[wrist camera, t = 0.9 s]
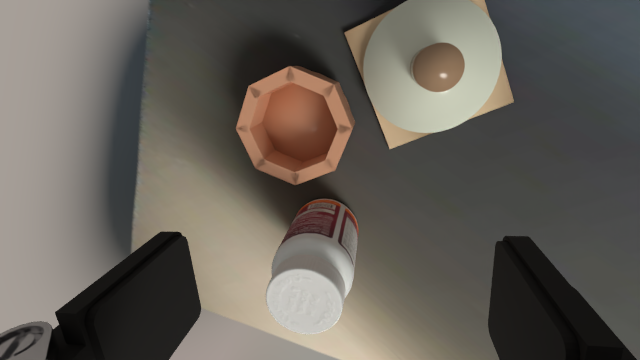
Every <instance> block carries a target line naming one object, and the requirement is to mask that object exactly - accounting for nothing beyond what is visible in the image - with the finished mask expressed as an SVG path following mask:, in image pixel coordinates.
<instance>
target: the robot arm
mask: <svg viewBox="0 0 640 360" xmlns="http://www.w3.org/2000/svg"><path fill="white" fill-rule="evenodd" d="M200 312H201V304H200V300H199V295H198V290H197V285H196V280H195V275H194V270H193V266H192V261H191V256H190V251H189V246H188V241H187V239H186V237H184V236H182V234H181V233H180V232H160V233H158V234H157V235H156V236H154V237H153V238H152V239H150V240H149V241H148V242H146V243H145V244H144V245H143V246H141V247H140V248H139V249H137V250H136V251H135V252H133V253H132V254H131V255H129V256H128V257H127V258H126V259H124V260H123V261H122V262H120V263H119V264H118V265H116V266H115V267H114V268H112V269H111V270H110V271H109V272H107V273H106V274H105V275H103V276H102V277H101V278H100V279H98V280H97V281H95V282H94V283H93V284H92V285H90V286H89V287H88V288H86V289H85V290H84V291H82V292H81V293H80V294H78V295H77V296H76V297H75V298H73V299H72V300H71V301H69V302H68V303H67V304H65V305H64V306H63V307H62V308H60V309H59V310H58V311H56V312H55V314H56V317H57V320H58V322H59V325H58V326H57V327H56V328H55V329H52V326H51V325H50V324H49V323H47V322H42V321H40V322H31V323H27V324H23V325H19V326H17V327H14V328H11V329H9V330H7V331H5V332H3V333H1V334H0V360H169V359H170V357H171V356H172V354H173V353H174V351H175V350H176V349H177V347H178V346H179V344H180V343H181V341H182V340H183V339H184V337H185V336H186V335H187V333H188V332H189V331H190V329H191V328H192V326H193V325H194V323H195V322H196V321H197V319H198V318H199V315H200ZM488 328H489V333H490V337H491V339H492V342H493V344H494V347H495V349H496V352H497V354H498V357H499V359H500V360H637V359H636V358H635V357H634V356H633V355H632V354H631V352H630V351H629V350H628V349H627V348H626V347H625V345H624V344H623V343H622V342H621V341H620V340H619V339H618V337H617V336H616V335H615V334H614V333H613V332H612V330H611V329H610V328H609V327H608V326H607V325H606V323H605V322H604V321H603V320H602V319H601V318H600V317H599V315H598V314H597V313H596V312H595V311H594V310H593V308H592V307H591V306H590V305H589V304H588V303H587V301H586V300H585V299H584V298H583V297H582V296H581V295H580V293H579V292H578V291H577V290H576V289H575V288H573V287H572V286H571V285H570V284H569V283H568V282H567V281H566V279H565V278H564V277H563V276H562V275H561V274H560V272H559V271H558V270H557V269H556V268H555V267H554V265H553V264H552V263H551V262H550V261H549V260H548V258H547V257H546V256H545V255H544V254H543V253H542V251H541V250H540V249H539V248H538V247H537V246H536V244H535V243H534V242H533V241H532V240H531V238H529V237H528V236H505V237H504V238H503V241H497V242H496V246H495V256H494V266H493V277H492V287H491V298H490V308H489V319H488Z"/></svg>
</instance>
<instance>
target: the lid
mask: <svg viewBox="0 0 640 360" xmlns="http://www.w3.org/2000/svg"><path fill="white" fill-rule="evenodd" d="M501 58H502V54H501V44H500V40H499V36H498V33H497V31H496V28H495V26H494V25H493V23H492V21H491V20H490V18H489V17H488V16H487V14H486V13H485V12H484V11H483V10H482V9H481V8H480V7H478V6H477V5H476V4H474V3H473V2H471V1H469V0H407V1H406V2H404V3H402V4H400V5H399V6H397V7H396V8H395V9H393V10H392V11H391V12H390V13H389V14H388V15H387V16H385V17H384V19H383V20H382V21H381V22H380V23H379V25H378V26H377V28H376V29H375V31H374V32H373V34H372V36H371V38H370V40H369V43H368V46H367V49H366V52H365V57H364V65H363V74H364V82H365V87H366V90H367V93H368V96H369V98H370V100H371V102H372V103H373V105H374V107H375V108H376V109H377V111H378V112H379V113H380V114H381V115H382V116H383V117H384V118H385V119H386V120H388V121H389V122H391V123H392V124H394V125H396V126H398V127H400V128H402V129H405V130H408V131H412V132H418V133H434V132H440V131H444V130H447V129H450V128H453V127H455V126H457V125H459V124H461V123H463V122H464V121H466V120H468V119H469V118H470V117H472V116H473V115H474V114H475V113H476V112H477V111H478V110H479V109H480V108H481V107H482V106H483V105H484V104H485V102H486V101H487V100H488V98H489V97H490V95H491V93H492V92H493V90H494V87H495V85H496V83H497V80H498V77H499V73H500V68H501Z"/></svg>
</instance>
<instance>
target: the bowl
mask: <svg viewBox="0 0 640 360" xmlns="http://www.w3.org/2000/svg"><path fill="white" fill-rule="evenodd" d="M354 124H355V121H354V118H353V116H352V113H351V110H350V106H349V103H348V101H347V99H346V96H345V95H344V93H343V91H342V89H341V86H340V84H339V82H337V81H335V80H332V79H330V78H328V77H326V76H324V75H322V74H320V73H317V72H313V71H310V70H308V69H306V68H303V67H301V66H289V67H287V68H285V69H282V70H280V71H278V72H276V73H274V74H272V75H270V76H268V77H266V78H264V79H262V80H260V81H258V82H256V83H254V84H251V85H249V86H248V90H247V93H246V96H245V100H244V103H243V107H242V110H241V113H240V117H239V120H238V123H237V127H236V130H237V132H238V134H239V136H240V138H241V140H242V142H243V144H244V146H245V148H246V150H247V152H248V154H249V156H250V158H251V160H252V162H253V164H254V166H255V168H256V169H258V170H260V171H263V172H265V173H267V174H270V175H272V176H275V177H277V178H279V179H282V180H284V181H286V182H289V183H291V184H294V185H297V184H300V183H303V182H305V181H308V180H311V179H313V178H316V177H319V176H321V175H324V174H327V173H329V172H332V171H334V170H335V169H336V167H337V165H338V162H339V160H340V157H341V155H342V153H343V150H344V148H345V146H346V143H347V141H348V138H349V136H350V134H351V131H352V129H353V127H354Z"/></svg>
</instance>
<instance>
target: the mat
mask: <svg viewBox="0 0 640 360" xmlns="http://www.w3.org/2000/svg"><path fill="white" fill-rule="evenodd" d="M469 1H471V2H473V3H474V4H476V5H477V6H478V7H480V8H481V9H482V10H483V11H484V12H485V13H486V14H487V16H488V17H489V14H488V11H487V7H486V4H485V0H469ZM394 9H395V8H394ZM392 10H393V9H392ZM392 10H390V11H388V12H386V13H384V14H382V15H379V16H377V17H375V18H373V19H371V20H369V21H367V22H365V23H363V24H361V25H359V26H357V27H355V28H353V29H351V30H349V31H347V32H345V36H346V38H347V41H348V43H349V46H350V48H351V51H352V53H353V56H354V59H355V61H356V64H357V66H358V69H359V71H360V74H361V77H362V79H363V82H364V74H363V65H364V57H365V52H366V49H367V46H368V43H369V40H370V38H371V36H372V34H373V32H374V31H375V29H376V28H377V26H378V25H379V23H380V22H381V21H382V20H383V19H384V17H385V16H387V15H388V14H389V13H390V12H391V11H392ZM489 18H490V17H489ZM364 84H365V82H364ZM513 102H514V100H513V96H512V93H511V90H510V86H509V83H508V79H507V76H506V72H505V69H504V65H503V62H502V59H501V68H500V73H499V77H498V80H497V83H496V85H495V87H494V90H493V92H492V93H491V95H490V97H489V98H488V100H487V101H486V102H485V104H484V105H483V106H482V107H481V108H480V109H479V110H478V111H477V112H476V113H475V114H474V115H473V116H472V117H470V118H469V119H471V118H473V117H476V116H479V115H481V114H484V113H486V112H489V111H492V110H494V109H497V108H500V107H502V106H505V105H508V104H510V103H513ZM372 105H373V103H372ZM373 107H374V105H373ZM374 110H375V112H376V115H377V117H378V120H379V123H380V125H381V128H382V130H383V133H384V135H385V138H386V141H387V143H388V146H389V148H390V149H391V148H394V147H397V146H399V145H402V144H405V143H407V142H410V141H413V140H415V139H418V138H420V137H423V136H426V135H428V134H431V133H418V132H412V131H408V130H405V129H402V128H400V127H398V126H396V125H394V124H392V123H391V122H389V121H388V120H386V119H385V118H384V117H383V116H382V115H381V114H380V113H379V112H378V111H377V109H376V108H375V107H374Z"/></svg>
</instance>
